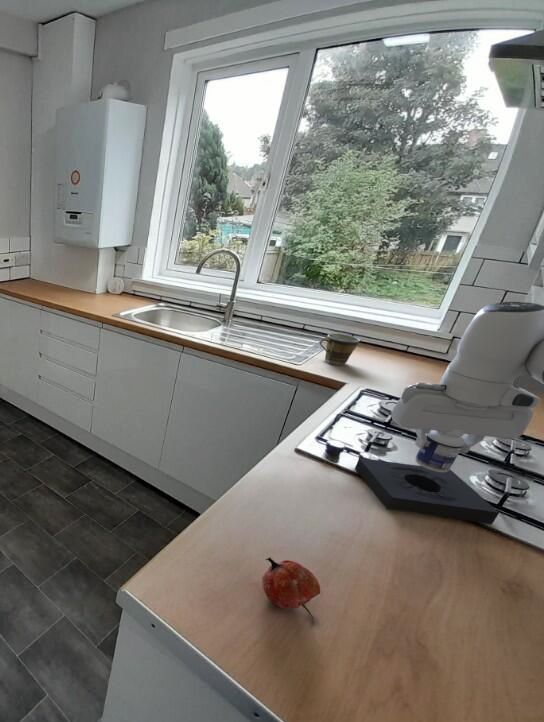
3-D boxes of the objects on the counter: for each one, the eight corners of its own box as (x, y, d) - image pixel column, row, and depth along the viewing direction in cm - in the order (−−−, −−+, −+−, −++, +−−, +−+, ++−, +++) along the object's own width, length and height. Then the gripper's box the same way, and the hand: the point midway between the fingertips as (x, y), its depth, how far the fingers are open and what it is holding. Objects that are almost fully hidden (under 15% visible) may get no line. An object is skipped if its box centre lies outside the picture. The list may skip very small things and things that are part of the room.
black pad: (444, 480, 92) (450, 469, 91) (492, 524, 80) (499, 512, 79) (354, 468, 96) (359, 458, 95) (386, 509, 84) (392, 497, 82)
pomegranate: (308, 606, 66) (268, 547, 69) (348, 606, 60) (303, 541, 63) (280, 632, 63) (240, 569, 66) (320, 634, 57) (273, 565, 60)
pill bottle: (411, 454, 88) (431, 415, 84) (444, 462, 86) (466, 422, 82) (417, 467, 84) (438, 427, 80) (451, 476, 81) (475, 435, 77)
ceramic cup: (339, 357, 162) (348, 333, 157) (357, 367, 153) (366, 342, 148) (306, 357, 162) (314, 333, 158) (321, 366, 153) (330, 341, 149)
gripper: (418, 388, 76) (390, 450, 82) (552, 401, 72) (512, 464, 78) (399, 375, 82) (374, 433, 88) (523, 386, 78) (488, 446, 84)
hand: (440, 448), depth 83 cm, fingers closed on pill bottle, 5 cm apart
